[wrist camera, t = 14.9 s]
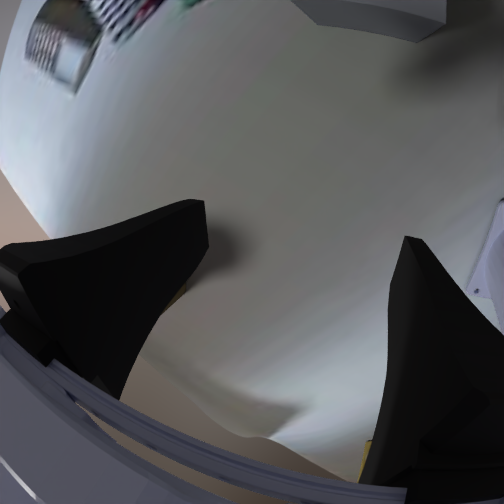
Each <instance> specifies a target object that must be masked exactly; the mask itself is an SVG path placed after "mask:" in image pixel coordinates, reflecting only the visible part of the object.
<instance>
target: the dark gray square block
mask: <svg viewBox="0 0 504 504" xmlns="http://www.w3.org/2000/svg"><path fill="white" fill-rule="evenodd" d="M290 1H291V2H293V3H294V4H295V5H296V6H297V7H298V8H299V9H301V10H302V11H303V12H304V13H305V14H306V15H307V16H308V17H309V18H310V19H312V20H313V21H314V22H315V23H316V24H317V25H323V26H332V27H340V28H347V29H354V30H360V31H366V32H371V33H377V34H382V35H386V36H391V37H395V38H399V39H403V40H407V41H411V42H415V43H417V42H419V41H420V40H422V39H423V38H425V37H426V36H428V35H429V34H431V33H433V32H434V31H436V30H437V29H439V28H440V27H442V26H444V25H445V24H446V0H290Z"/></svg>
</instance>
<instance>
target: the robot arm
mask: <svg viewBox="0 0 504 504" xmlns="http://www.w3.org/2000/svg"><path fill="white" fill-rule="evenodd" d="M208 248H209V243H208V234H207V224H206V214H205V204H204V201H203V200H195V199H187V200H182V201H179V202H176V203H172V204H169V205H167V206H164V207H161V208H158V209H156V210H153V211H150V212H148V213H145V214H142V215H139V216H137V217H134V218H131V219H128V220H125V221H123V222H120V223H117V224H114V225H111V226H108V227H104V228H101V229H97V230H94V231H90V232H86V233H82V234H77V235H73V236H68V237H63V238H58V239H52V240H45V241H36V242H23V243H11V244H8V245H5V246H4V247H2V248H1V249H0V291H1V293H2V294H3V296H4V298H5V300H6V301H7V303H8V305H9V307H10V308H11V309H10V310H9V311H8V312H7V313H6V312H5V311H4V310H3V308H2V307H1V306H0V504H238V503H236V502H233V501H230V500H227V499H225V498H223V497H220V496H218V495H215V494H213V493H211V492H208V491H206V490H204V489H202V488H199V487H197V486H195V485H193V484H190V483H189V482H186V481H184V480H182V479H180V478H178V477H176V476H174V475H172V474H170V473H168V472H166V471H165V470H162V469H161V468H159V467H157V466H155V465H153V464H151V463H150V462H148V461H146V460H144V459H143V458H141V457H139V456H137V455H136V454H134V453H132V452H131V451H129V450H127V449H125V448H124V447H123V446H121V445H119V444H118V443H116V441H115V440H114V439H113V438H111V436H109V435H108V434H107V433H106V432H104V431H103V430H102V429H101V428H100V427H99V426H98V425H97V424H96V423H95V422H94V421H93V420H92V419H91V417H90V416H89V415H88V414H87V413H86V412H85V411H84V410H83V409H81V408H80V407H79V406H78V405H77V404H76V403H78V404H79V405H80V406H82V407H83V408H85V409H86V410H88V411H89V412H90V413H92V414H93V415H95V416H96V417H98V418H99V419H101V420H102V421H104V422H106V423H107V424H109V425H110V426H112V427H113V428H115V429H117V430H118V431H120V432H122V433H123V434H125V435H127V436H129V437H130V438H132V439H134V440H135V441H137V442H139V443H141V444H143V445H145V446H146V447H148V448H150V449H152V450H154V451H156V452H158V453H160V454H162V455H164V456H166V457H168V458H170V459H172V460H174V461H176V462H178V463H180V464H183V465H185V466H187V467H189V468H192V469H194V470H196V471H199V472H201V473H203V474H206V475H208V476H211V477H213V478H216V479H219V480H221V481H224V482H227V483H229V484H232V485H235V486H238V487H241V488H244V489H247V490H250V491H253V492H257V493H260V494H263V495H267V496H270V497H274V498H278V499H282V500H285V501H290V502H294V503H298V504H504V200H502V201H500V202H499V204H498V206H497V209H496V212H495V215H494V219H493V221H492V224H491V227H490V230H489V233H488V236H487V238H486V241H485V244H484V246H483V249H482V251H481V254H480V256H479V259H478V261H477V263H476V266H475V268H474V270H473V272H472V275H471V277H470V279H469V281H468V283H467V286H466V292H467V293H468V294H469V295H474V296H479V297H484V298H489V299H492V301H493V304H494V307H495V311H496V314H497V317H498V321H499V324H500V328H501V331H502V333H501V332H500V331H499V330H498V329H497V328H496V327H495V326H494V325H493V324H492V323H491V322H490V321H489V320H488V319H487V318H486V317H485V316H484V315H483V314H482V313H481V312H480V311H479V310H478V309H477V307H476V306H475V305H474V304H473V303H472V302H471V301H470V300H469V298H468V297H467V296H466V295H465V294H464V292H463V291H462V290H461V289H460V288H459V286H458V285H457V284H456V283H455V281H454V280H453V279H452V277H451V276H450V275H449V274H448V272H447V271H446V270H445V268H444V267H443V266H442V264H441V263H440V262H439V260H438V259H437V258H436V256H435V255H434V254H433V252H432V251H431V250H430V248H429V247H428V246H427V245H426V243H425V242H424V241H423V240H422V239H419V238H414V237H410V236H405V237H404V240H403V244H402V247H401V251H400V254H399V258H398V261H397V264H396V268H395V271H394V274H393V277H392V280H391V283H390V292H389V302H388V360H387V374H386V381H385V386H384V392H383V397H382V402H381V407H380V412H379V416H378V420H377V424H376V428H375V432H374V436H373V439H372V443H371V446H370V449H369V453H368V456H367V459H366V462H365V465H364V467H363V470H362V473H361V476H360V478H359V481H358V483H352V482H345V481H339V480H333V479H327V478H322V477H318V476H313V475H308V474H304V473H300V472H295V471H291V470H287V469H284V468H280V467H276V466H273V465H269V464H266V463H262V462H259V461H256V460H253V459H249V458H246V457H243V456H240V455H237V454H234V453H232V452H229V451H226V450H223V449H221V448H218V447H215V446H213V445H210V444H208V443H205V442H203V441H200V440H198V439H195V438H193V437H191V436H188V435H186V434H184V433H181V432H179V431H177V430H175V429H173V428H170V427H168V426H166V425H164V424H162V423H160V422H158V421H156V420H154V419H152V418H150V417H148V416H146V415H144V414H142V413H140V412H138V411H137V410H135V409H133V408H131V407H129V406H127V405H126V404H124V403H122V402H120V401H119V399H120V396H121V394H122V391H123V388H124V386H125V383H126V381H127V378H128V376H129V373H130V371H131V369H132V367H133V365H134V363H135V360H136V358H137V356H138V354H139V352H140V350H141V348H142V346H143V344H144V343H145V341H146V339H147V337H148V335H149V333H150V332H151V330H152V328H153V326H154V325H155V323H156V321H157V320H158V318H159V316H160V315H161V313H162V312H163V311H164V309H165V308H166V306H167V305H168V304H169V303H170V301H171V300H172V299H173V297H174V296H175V295H176V294H177V292H178V291H179V290H180V289H181V287H182V286H183V285H184V284H185V282H186V281H187V280H188V279H189V277H190V276H191V275H192V273H193V272H194V271H195V269H196V268H197V267H198V265H199V264H200V262H201V260H202V259H203V257H204V255H205V253H206V251H207V249H208ZM475 289H478V290H475ZM75 402H76V403H75ZM287 504H291V503H287Z"/></svg>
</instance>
